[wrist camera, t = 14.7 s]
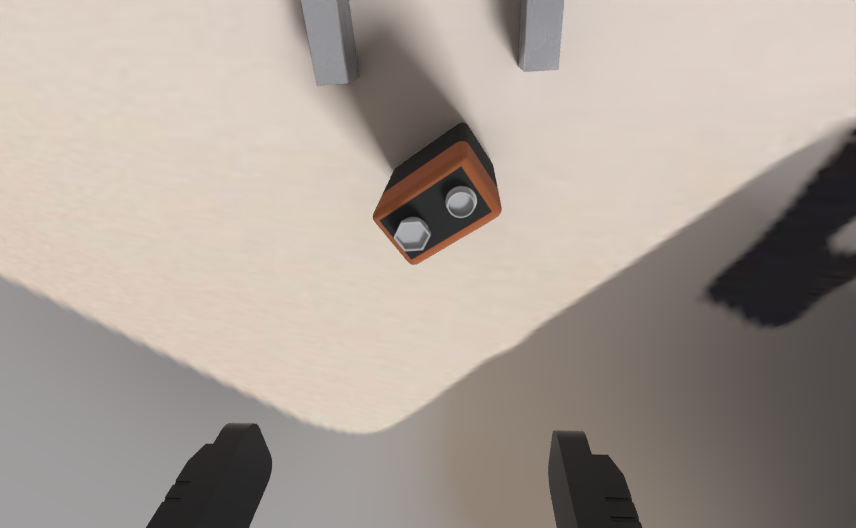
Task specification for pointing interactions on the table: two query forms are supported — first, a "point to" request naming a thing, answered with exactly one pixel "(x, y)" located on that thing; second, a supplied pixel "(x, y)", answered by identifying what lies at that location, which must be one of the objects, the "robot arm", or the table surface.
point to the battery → (439, 196)
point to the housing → (338, 55)
